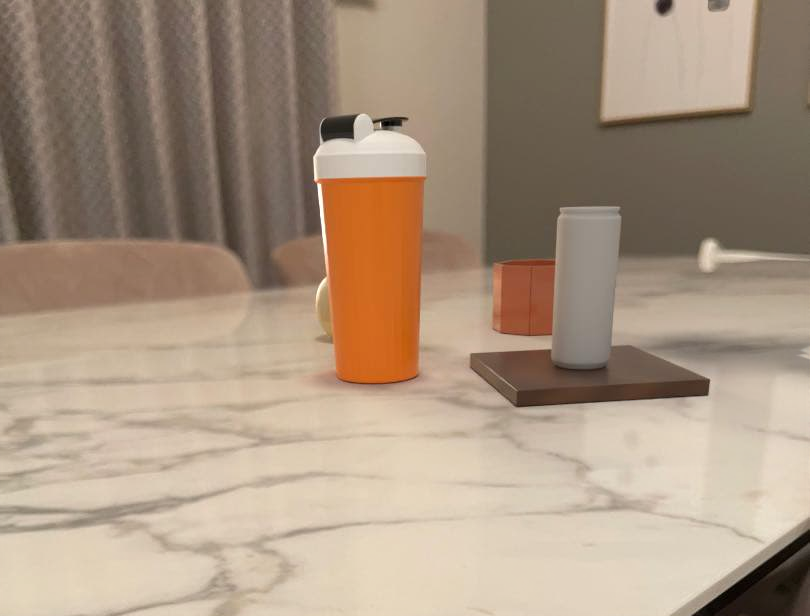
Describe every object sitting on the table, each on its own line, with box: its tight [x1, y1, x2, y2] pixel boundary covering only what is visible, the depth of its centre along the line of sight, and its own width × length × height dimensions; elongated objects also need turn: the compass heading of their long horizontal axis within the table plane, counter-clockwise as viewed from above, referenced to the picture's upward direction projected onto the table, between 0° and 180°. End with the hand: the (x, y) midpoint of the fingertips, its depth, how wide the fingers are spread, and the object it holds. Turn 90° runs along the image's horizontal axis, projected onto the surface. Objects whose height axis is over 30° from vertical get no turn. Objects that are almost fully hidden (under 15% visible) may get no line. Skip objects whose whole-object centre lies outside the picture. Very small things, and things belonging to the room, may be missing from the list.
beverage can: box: [550, 205, 622, 370], centre depth 67 cm, size 5×5×12 cm
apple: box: [315, 276, 333, 338], centre depth 90 cm, size 8×8×8 cm
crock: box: [492, 258, 556, 336], centre depth 92 cm, size 8×8×7 cm
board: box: [469, 344, 711, 407], centre depth 69 cm, size 15×15×1 cm
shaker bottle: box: [312, 113, 428, 384], centre depth 69 cm, size 9×9×20 cm
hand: (718, 1), depth 69 cm, fingers open, 8 cm apart
